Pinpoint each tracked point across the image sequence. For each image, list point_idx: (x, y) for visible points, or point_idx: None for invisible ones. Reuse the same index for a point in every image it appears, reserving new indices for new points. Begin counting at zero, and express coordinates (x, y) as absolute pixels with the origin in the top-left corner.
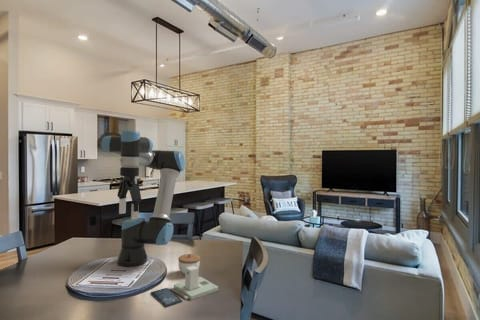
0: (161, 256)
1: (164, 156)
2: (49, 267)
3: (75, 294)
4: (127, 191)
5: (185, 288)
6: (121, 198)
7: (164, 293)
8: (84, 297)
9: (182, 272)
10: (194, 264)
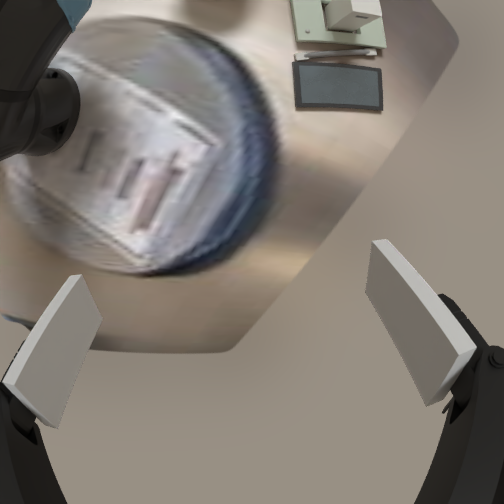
0: None
1: None
2: (42, 293)
3: (198, 265)
4: (23, 500)
5: (332, 28)
6: (30, 416)
7: (325, 81)
8: (224, 251)
9: None
10: None
